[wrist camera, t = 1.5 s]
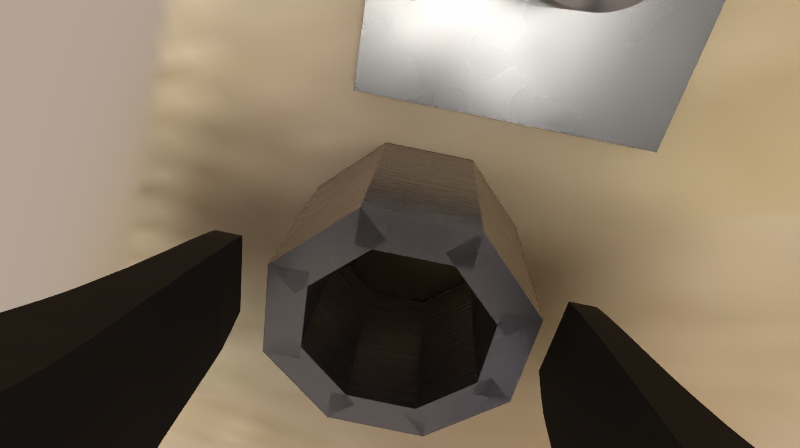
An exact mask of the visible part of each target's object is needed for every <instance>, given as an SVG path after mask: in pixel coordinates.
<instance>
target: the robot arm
mask: <svg viewBox="0 0 800 448" xmlns="http://www.w3.org/2000/svg"><path fill="white" fill-rule="evenodd" d="M241 267H242V236H241V235H236V234H231V233H226V232H221V231H216V230H214V231H211V232H208V233H206V234H203V235H201V236H198V237H196V238H194V239H191V240H189V241H187V242H185V243H182V244H180V245H178V246H176V247H173V248H171V249H169V250H167V251H164V252H162V253H160V254H158V255H155V256H153V257H151V258H149V259H146V260H144V261H142V262H139V263H137V264H135V265H133V266H130V267H128V268H125V269H123V270H120V271H118V272H115V273H113V274H110V275H108V276H105V277H103V278H100V279H98V280H95V281H92V282H90V283H88V284H85V285H82V286H80V287H77V288H75V289H72V290H69V291H67V292H63V293H61V294H58V295H55V296H52V297H49V298H46V299H43V300H40V301H36V302H33V303H30V304H27V305H24V306H20V307H17V308H14V309H11V310H8V311H4V312H1V313H0V448H158V446H159V444H160V443H161V441H162V439H163V438H164V436H165V435H166V433H167V432H168V430H169V429H170V427H171V426H172V424H173V423H174V421H175V420H176V418H177V417H178V415H179V414H180V412H181V411H182V409H183V408H184V406H185V405H186V403H187V402H188V400H189V399H190V397H191V396H192V394H193V393H194V391H195V390H196V388H197V387H198V385H199V384H200V382H201V381H202V379H203V378H204V376H205V375H206V373H207V371H208V370H209V368H210V367H211V365H212V364H213V362H214V361H215V359H216V358H217V356H218V355H219V353H220V351H221V350H222V348H223V346H224V344H225V342H226V340H227V338H228V336H229V334H230V332H231V330H232V327H233V325H234V323H235V321H236V319H237V317H238V315H239V313H240V302H241ZM539 376H540V387H541V398H542V406H543V414H544V419H545V423H546V427H547V432H548V436H549V440H550V444H551V448H755V447H753V446H752V445H751V444H749V443H748V442H747V441H746V440H744V439H743V438H742V437H741V436H739V435H738V434H737V433H736V432H735V431H733V430H732V429H731V428H730V427H728V426H727V425H726V424H725V423H724V422H722V421H721V420H720V419H719V418H718V417H717V416H716V415H714V414H713V413H712V412H711V411H710V410H709V409H707V408H706V407H705V406H704V405H703V404H702V403H700V402H699V401H698V400H697V399H696V398H695V397H694V396H692V395H691V394H690V393H689V392H688V391H687V390H686V389H685V388H684V387H682V386H681V385H680V384H679V383H678V382H677V381H676V380H675V379H674V378H673V377H672V376H671V375H669V374H668V373H667V372H666V371H665V370H664V369H663V368H662V367H661V366H660V365H659V364H658V363H657V362H656V361H655V360H653V359H652V358H651V357H650V356H649V355H648V354H647V353H646V352H645V351H644V350H643V349H642V348H641V347H640V346H639V345H638V344H637V343H636V342H635V341H634V340H633V339H632V338H630V337H629V336H628V335H627V334H626V333H625V332H624V331H623V330H622V329H621V328H620V327H619V326H618V325H617V324H616V323H615V322H613V321H612V320H611V319H610V318H609V317H608V316H607V315H606V314H604V313H603V312H602V311H601V310H599V309H598V308H597V307H593V306H588V305H583V304H578V303H573V302H569V303H568V305H567V307H566V310H565V312H564V314H563V317H562V319H561V321H560V324H559V326H558V328H557V331H556V333H555V335H554V338H553V340H552V342H551V344H550V347H549V349H548V351H547V354H546V356H545V358H544V361H543V363H542V365H541V368H540V370H539Z"/></svg>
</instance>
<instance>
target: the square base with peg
mask: <svg viewBox="0 0 800 448" xmlns="http://www.w3.org/2000/svg"><path fill="white" fill-rule="evenodd" d="M724 3H725V0H366V2H365V9H364V17H363V24H362V32H361V39H360V46H359V54H358V61H357V69H356V76H355V84H354V90H355V91H359V92H364V93H369V94H374V95H379V96H384V97H389V98H394V99H399V100H403V101H408V102H413V103H418V104H423V105H428V106H433V107H438V108H443V109H447V110H452V111H457V112H462V113H467V114H472V115H477V116H482V117H487V118H491V119H496V120H501V121H506V122H511V123H516V124H521V125H526V126H531V127H535V128H540V129H545V130H550V131H555V132H560V133H565V134H570V135H574V136H579V137H584V138H589V139H594V140H599V141H604V142H609V143H614V144H618V145H623V146H628V147H633V148H638V149H643V150H648V151H653V152H657V150H658V148H659V146H660V144H661V142H662V139H663V137H664V135H665V133H666V130H667V128H668V126H669V124H670V122H671V119H672V117H673V115H674V113H675V111H676V108H677V106H678V104H679V102H680V100H681V97H682V95H683V93H684V91H685V89H686V86H687V84H688V82H689V80H690V78H691V75H692V73H693V71H694V69H695V67H696V64H697V62H698V60H699V58H700V55H701V53H702V51H703V49H704V47H705V44H706V42H707V40H708V38H709V36H710V33H711V31H712V29H713V27H714V25H715V22H716V20H717V18H718V16H719V14H720V11H721V9H722V7H723V5H724Z"/></svg>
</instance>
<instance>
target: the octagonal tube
mask: <svg viewBox="0 0 800 448" xmlns="http://www.w3.org/2000/svg"><path fill="white" fill-rule="evenodd" d="M371 249H373V250H378V251H383V252H388V253H393V254H398V255H403V256H408V257H413V258H417V259H422V260H427V261H432V262H437V263H442V264H447V265H452V266H455V267H456V268H457V269H458V271H459V272H460V273H461V275H462V276H463V278H464V279H465V280H466V281H464V282H462V283H460V284H459V285H457V286H455V287H453V288H451V289H449V290H447V291H445V292H443V293H441V294H439V295H437V296H435V297H433V298H431V299H429V300H427V301H425V302H419V301H414V300H409V299H404V298H399V297H394V296H389V295H384V294H379V293H375V292H371V291H370V289H369V288H368V287H367V286H366V284H365V283H364V282H363V281H362V280H361V278H360V277H359V276H358V275H357V273H356V272H355V271H354V270H353V269H352V267H351V266H350V265H349V264H348V263H349V262H351V261H352V260H354V259H356V258H358V257H359V256H361V255H363V254H364V253H366V252H368V251H370V250H371ZM542 321H543V318H542V314H541V311H540V308H539V304H538V301H537V298H536V294H535V291H534V288H533V284H532V281H531V278H530V274H529V271H528V268H527V264H526V261H525V258H524V254H523V251H522V248H521V244H520V241H519V238H518V234H517V231H516V228H515V226H514V224H513V223H512V221H511V220H510V218H509V217H508V215H507V213H506V212H505V210H504V209H503V207H502V206H501V204H500V203H499V201H498V199H497V198H496V196H495V195H494V193H493V192H492V190H491V189H490V187H489V185H488V184H487V182H486V181H485V179H484V178H483V176H482V175H481V173H480V171H479V170H478V168H477V167H476V165H475V164H474V162H473V160H468V159H463V158H458V157H453V156H448V155H443V154H438V153H433V152H429V151H424V150H419V149H414V148H409V147H404V146H399V145H394V144H389V143H385V144H384V145H382V146H381V147H379V148H378V149H376V150H375V151H373V152H372V153H370V154H369V155H367V156H366V157H364V158H363V159H361V160H360V161H358V162H357V163H355V164H353V165H352V166H350V167H349V168H347V169H346V170H344V171H343V172H341V173H340V174H338V175H337V176H335V177H334V178H332V179H331V180H329V181H328V182H326V183H325V184H323V185H322V186H320V187H319V188H318V189H317V191H316V192H315V194H314V195H313V197H312V198H311V200H310V202H309V203H308V205H307V206H306V208H305V209H304V211H303V212H302V214H301V215H300V217H299V218H298V220H297V221H296V223H295V224H294V226H293V227H292V229H291V230H290V232H289V233H288V235H287V236H286V238H285V239H284V241H283V242H282V244H281V245H280V247H279V248H278V250H277V251H276V253H275V254H274V256H273V257H272V259H271V260H270V262H269V264H268V277H267V293H266V309H265V325H264V341H263V352H264V353H265V354H266V355H267V356H268V357H269V358H270V359H271V360H272V361H273V362H274V363H275V364H276V365H277V366H278V367H279V368H280V369H281V370H282V371H283V372H284V373H285V374H286V375H287V376H288V377H289V378H290V379H291V380H292V381H293V382H294V383H295V384H296V385H297V386H298V388H299V389H300V390H301V391H302V392H303V393H304V394H305V395H306V396H307V397H308V398H309V399H310V400H311V401H312V402H313V403H314V404H315V405H316V406H317V407H318V408H319V409H320V410H321V411H322V412H323V413H324V414H325V415H326V416H327V417H331V418H335V419H340V420H345V421H350V422H355V423H360V424H365V425H370V426H375V427H380V428H385V429H390V430H394V431H399V432H404V433H409V434H414V435H419V436H425V435H427V434H430V433H432V432H435V431H437V430H440V429H442V428H445V427H447V426H450V425H452V424H455V423H457V422H460V421H462V420H465V419H467V418H470V417H472V416H475V415H477V414H480V413H482V412H485V411H487V410H490V409H492V408H495V407H497V406H500V405H502V404H505V403H507V402H510V400H511V398H512V395H513V393H514V390H515V388H516V385H517V383H518V380H519V378H520V375H521V373H522V371H523V368H524V366H525V363H526V361H527V358H528V356H529V353H530V351H531V348H532V346H533V344H534V341H535V339H536V336H537V334H538V331H539V329H540V326H541V324H542Z"/></svg>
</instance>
